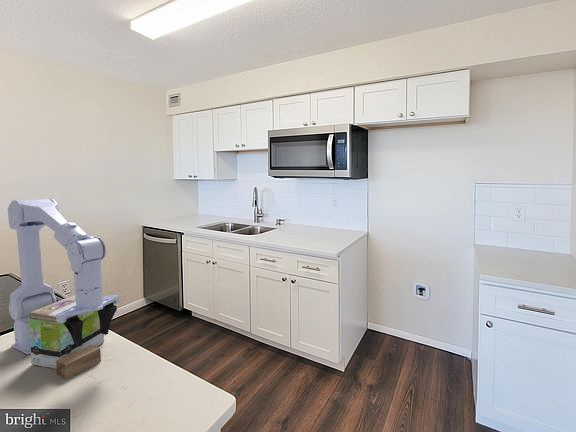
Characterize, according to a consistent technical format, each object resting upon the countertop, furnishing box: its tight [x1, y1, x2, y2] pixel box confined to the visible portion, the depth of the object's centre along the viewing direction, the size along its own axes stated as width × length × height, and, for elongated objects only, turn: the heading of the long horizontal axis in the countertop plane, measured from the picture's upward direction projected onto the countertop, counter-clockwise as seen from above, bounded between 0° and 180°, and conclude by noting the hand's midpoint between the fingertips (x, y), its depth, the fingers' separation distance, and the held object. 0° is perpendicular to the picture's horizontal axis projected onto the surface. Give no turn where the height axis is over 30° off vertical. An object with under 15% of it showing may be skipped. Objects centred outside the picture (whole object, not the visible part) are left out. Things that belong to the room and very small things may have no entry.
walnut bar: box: [55, 345, 102, 380], centre depth 85 cm, size 4×9×4 cm, turn 155°
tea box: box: [29, 294, 105, 370], centre depth 91 cm, size 15×10×15 cm, turn 168°
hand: (91, 339), depth 81 cm, fingers open, 6 cm apart
